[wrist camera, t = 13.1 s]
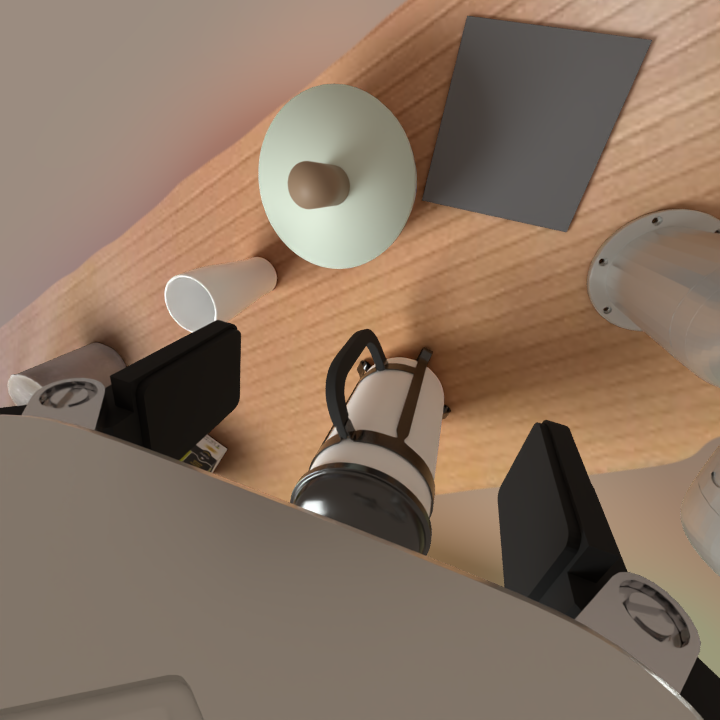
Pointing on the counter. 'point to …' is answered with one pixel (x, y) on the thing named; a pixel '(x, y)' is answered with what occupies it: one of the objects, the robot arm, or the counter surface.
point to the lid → (337, 176)
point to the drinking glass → (218, 291)
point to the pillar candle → (66, 370)
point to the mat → (529, 118)
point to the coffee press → (379, 446)
